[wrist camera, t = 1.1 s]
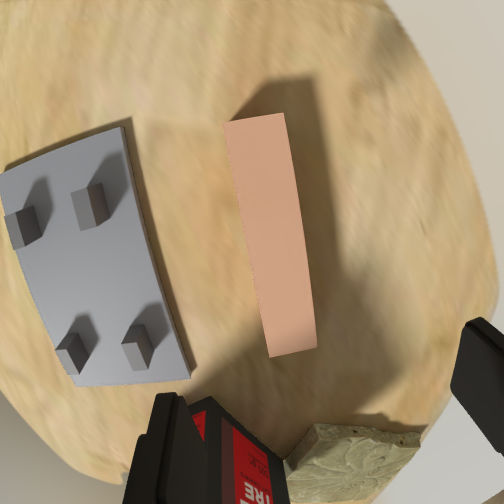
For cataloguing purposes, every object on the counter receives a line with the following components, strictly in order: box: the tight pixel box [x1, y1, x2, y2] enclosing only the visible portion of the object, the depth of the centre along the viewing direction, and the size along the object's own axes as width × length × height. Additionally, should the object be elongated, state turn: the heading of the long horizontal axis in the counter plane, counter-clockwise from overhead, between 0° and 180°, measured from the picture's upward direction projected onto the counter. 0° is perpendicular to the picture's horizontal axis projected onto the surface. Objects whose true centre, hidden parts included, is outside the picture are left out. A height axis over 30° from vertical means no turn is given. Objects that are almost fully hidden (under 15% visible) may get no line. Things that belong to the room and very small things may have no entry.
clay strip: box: [222, 113, 317, 358], centre depth 24 cm, size 18×4×5 cm, turn 11°
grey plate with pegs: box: [0, 127, 192, 387], centre depth 25 cm, size 24×14×4 cm, turn 10°
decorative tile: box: [283, 423, 421, 503], centre depth 37 cm, size 19×20×4 cm
